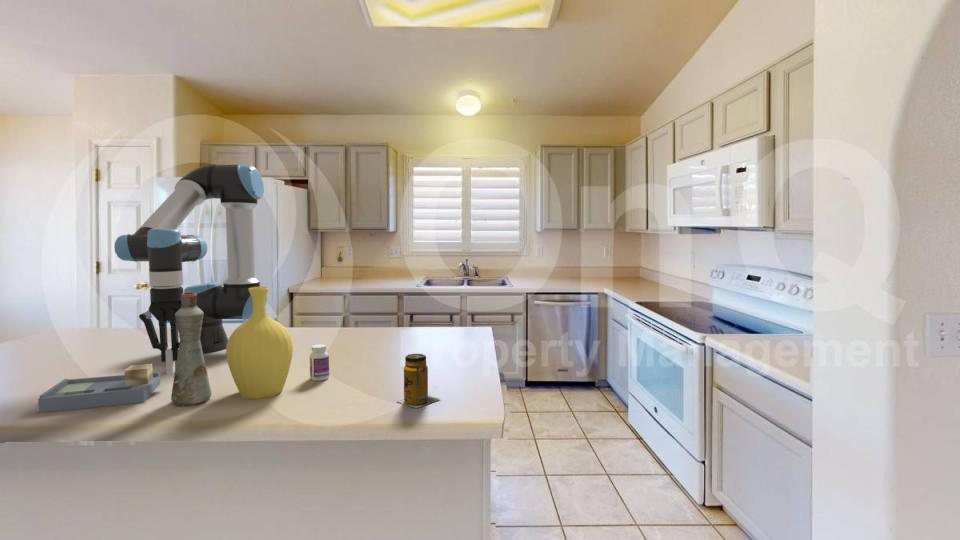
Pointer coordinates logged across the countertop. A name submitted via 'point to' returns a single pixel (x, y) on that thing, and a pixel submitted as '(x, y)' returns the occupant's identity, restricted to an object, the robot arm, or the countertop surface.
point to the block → (138, 374)
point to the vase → (259, 352)
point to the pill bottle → (319, 363)
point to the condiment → (416, 382)
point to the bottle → (190, 356)
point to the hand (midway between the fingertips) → (170, 372)
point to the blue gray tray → (95, 393)
